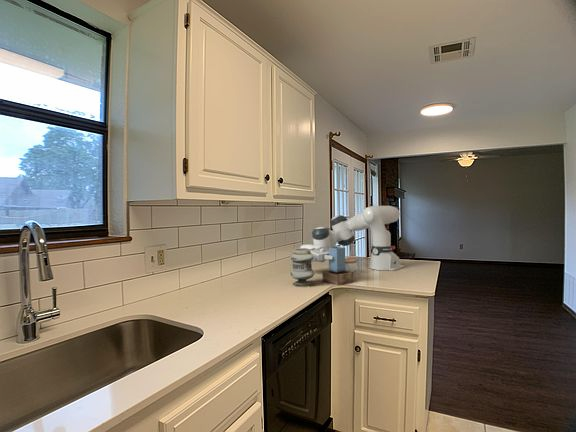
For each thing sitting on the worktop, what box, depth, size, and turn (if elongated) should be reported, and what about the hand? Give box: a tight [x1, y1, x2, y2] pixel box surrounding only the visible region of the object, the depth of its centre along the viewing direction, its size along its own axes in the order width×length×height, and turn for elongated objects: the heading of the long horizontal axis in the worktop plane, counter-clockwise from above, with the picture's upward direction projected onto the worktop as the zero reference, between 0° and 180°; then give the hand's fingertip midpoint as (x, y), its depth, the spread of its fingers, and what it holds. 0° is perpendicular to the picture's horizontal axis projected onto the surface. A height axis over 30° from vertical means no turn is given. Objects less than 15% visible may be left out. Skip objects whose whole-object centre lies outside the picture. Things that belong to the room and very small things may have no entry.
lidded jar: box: [345, 256, 358, 273], centre depth 192 cm, size 11×11×9 cm
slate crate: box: [328, 246, 346, 272], centre depth 171 cm, size 6×6×12 cm
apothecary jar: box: [289, 247, 315, 288], centre depth 166 cm, size 12×12×18 cm
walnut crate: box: [322, 270, 354, 286], centre depth 171 cm, size 11×11×5 cm
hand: (338, 257), depth 170 cm, fingers closed on slate crate, 6 cm apart
